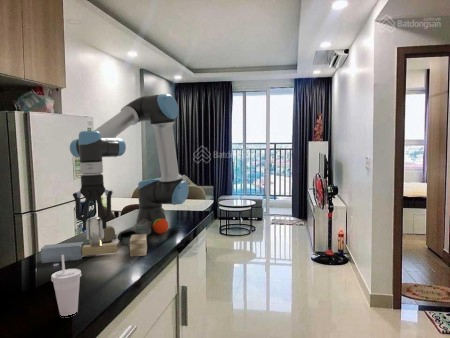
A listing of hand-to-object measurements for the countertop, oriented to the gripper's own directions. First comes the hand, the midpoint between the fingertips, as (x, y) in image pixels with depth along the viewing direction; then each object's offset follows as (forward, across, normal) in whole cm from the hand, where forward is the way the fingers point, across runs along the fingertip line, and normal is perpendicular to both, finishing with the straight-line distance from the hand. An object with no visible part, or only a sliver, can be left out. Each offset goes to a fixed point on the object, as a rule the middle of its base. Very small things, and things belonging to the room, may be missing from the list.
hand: (95, 238), depth 122 cm
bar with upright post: (+6, -4, 0) cm, 7 cm away
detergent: (+7, +14, +21) cm, 26 cm away
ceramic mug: (+7, 0, +22) cm, 23 cm away
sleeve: (+7, -11, 0) cm, 13 cm away
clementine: (+7, +23, +26) cm, 35 cm away
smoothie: (+7, +2, -45) cm, 45 cm away
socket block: (+7, +15, 0) cm, 16 cm away
